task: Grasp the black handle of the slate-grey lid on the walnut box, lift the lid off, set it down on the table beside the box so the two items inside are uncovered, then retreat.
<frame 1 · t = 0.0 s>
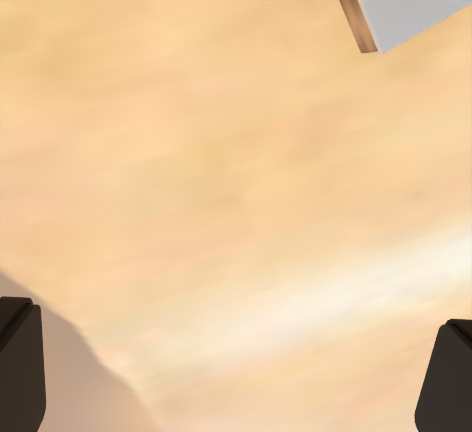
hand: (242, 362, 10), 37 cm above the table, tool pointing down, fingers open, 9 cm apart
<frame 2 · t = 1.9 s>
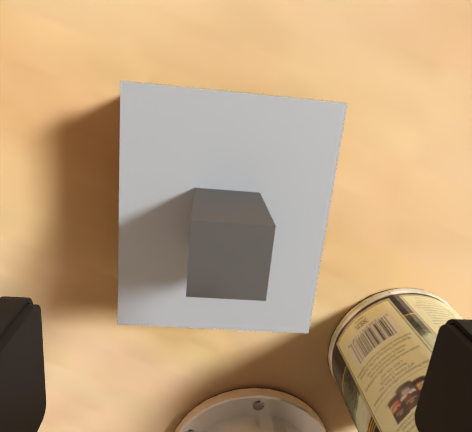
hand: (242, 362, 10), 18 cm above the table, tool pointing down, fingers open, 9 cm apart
coffee can: (394, 346, 31), on the table
lid: (224, 215, 22), point 5 cm above the table, touching box
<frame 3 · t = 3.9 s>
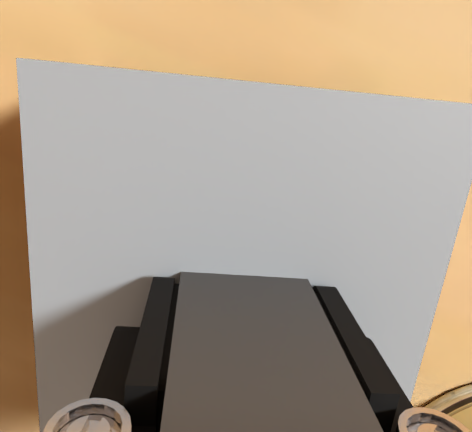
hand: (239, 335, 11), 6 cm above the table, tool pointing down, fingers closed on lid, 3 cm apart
lid: (236, 310, 12), point 5 cm above the table, touching box, gripper
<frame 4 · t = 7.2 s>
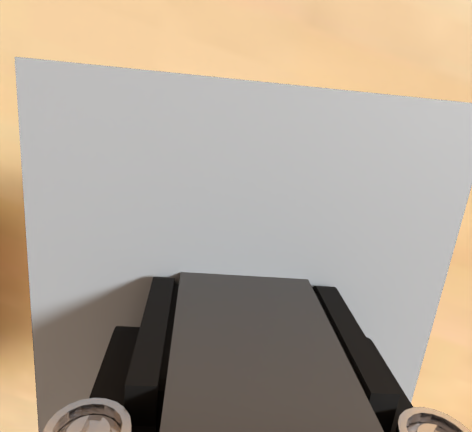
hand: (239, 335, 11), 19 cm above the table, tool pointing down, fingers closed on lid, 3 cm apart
lid: (236, 310, 12), point 18 cm above the table, touching gripper
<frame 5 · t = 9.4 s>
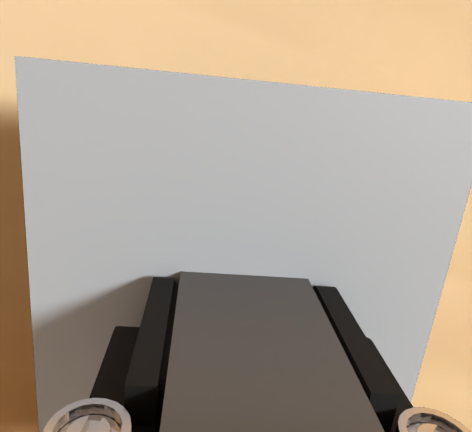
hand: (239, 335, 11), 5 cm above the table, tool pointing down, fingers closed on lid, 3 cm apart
lid: (236, 310, 12), point 4 cm above the table, touching gripper
when the fingers open (3 cm above the table, at t = 10.7 s): lid drops 2 cm, on the table.
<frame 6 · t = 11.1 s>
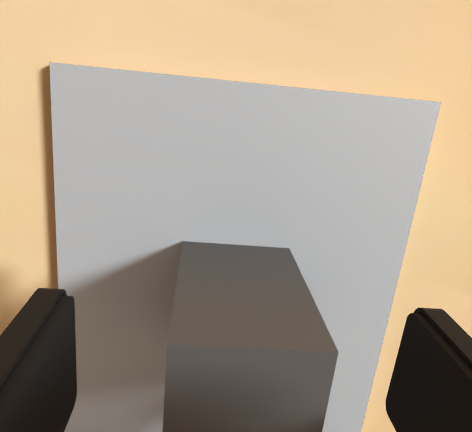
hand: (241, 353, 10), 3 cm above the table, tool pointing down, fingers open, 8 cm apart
lid: (229, 277, 14), on the table
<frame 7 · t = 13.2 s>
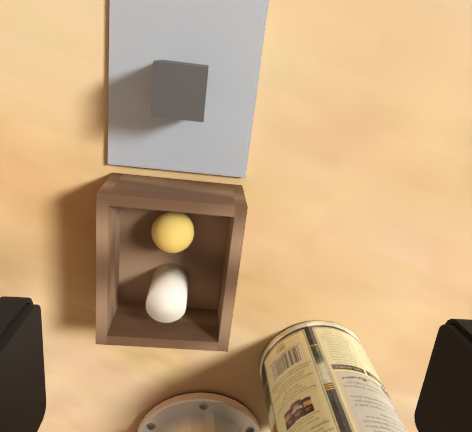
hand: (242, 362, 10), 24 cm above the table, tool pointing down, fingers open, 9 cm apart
white capsule: (170, 278, 35), point 1 cm above the table, touching box
box: (172, 248, 35), on the table
coffee can: (312, 363, 40), on the table
mustard ball: (174, 223, 33), point 1 cm above the table, touching box
lid: (184, 85, 31), on the table
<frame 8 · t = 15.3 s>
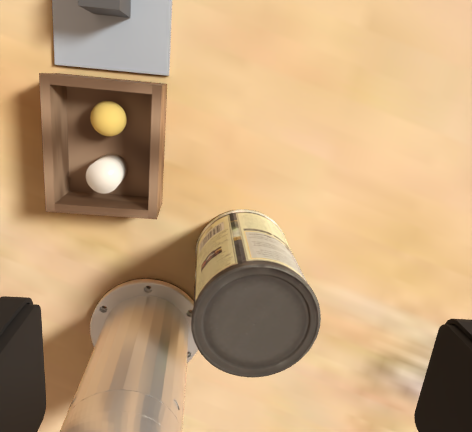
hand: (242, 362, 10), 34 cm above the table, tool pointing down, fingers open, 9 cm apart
white capsule: (112, 168, 42), point 1 cm above the table, touching box
box: (113, 142, 42), on the table
coffee can: (242, 251, 47), on the table
mustard ball: (112, 117, 40), point 1 cm above the table, touching box
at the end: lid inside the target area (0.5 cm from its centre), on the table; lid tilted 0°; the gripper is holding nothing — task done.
